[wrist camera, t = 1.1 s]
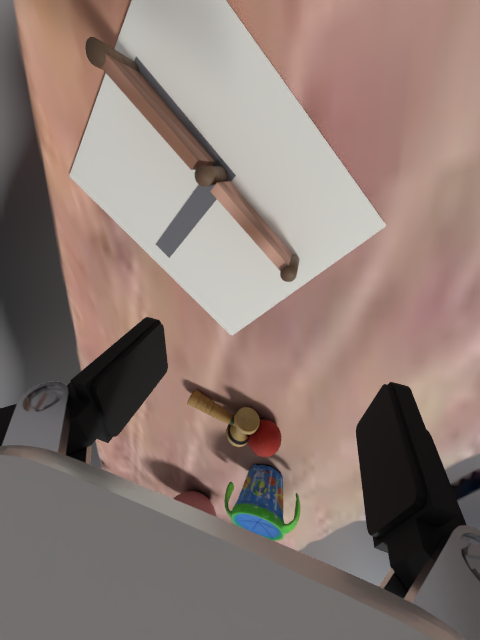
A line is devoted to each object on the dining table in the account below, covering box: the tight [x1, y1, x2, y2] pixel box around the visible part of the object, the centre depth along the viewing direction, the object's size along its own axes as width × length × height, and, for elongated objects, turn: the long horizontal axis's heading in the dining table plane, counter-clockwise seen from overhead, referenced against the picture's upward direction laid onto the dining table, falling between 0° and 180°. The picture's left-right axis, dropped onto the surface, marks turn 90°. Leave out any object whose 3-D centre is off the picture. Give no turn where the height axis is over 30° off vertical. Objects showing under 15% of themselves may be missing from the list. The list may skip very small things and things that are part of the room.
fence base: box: [86, 37, 228, 187], centre depth 22 cm, size 2×13×5 cm, turn 46°
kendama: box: [187, 390, 281, 457], centre depth 43 cm, size 8×6×18 cm
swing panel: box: [210, 181, 299, 282], centre depth 24 cm, size 11×2×4 cm, turn 46°
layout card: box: [69, 0, 386, 336], centre depth 26 cm, size 23×29×1 cm
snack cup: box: [225, 464, 300, 541], centre depth 50 cm, size 16×11×10 cm
